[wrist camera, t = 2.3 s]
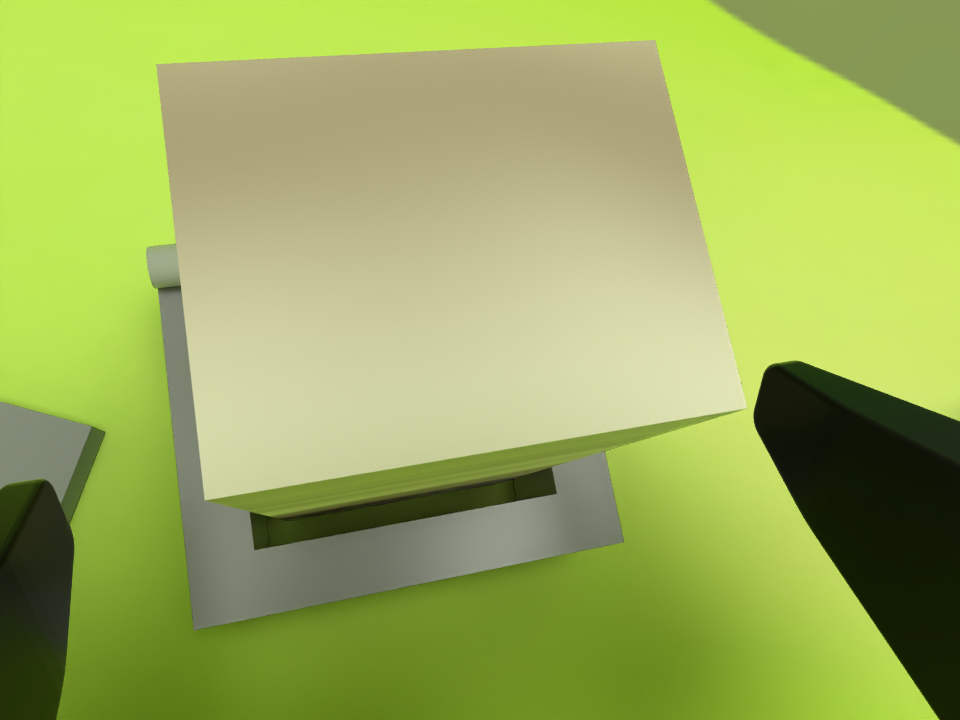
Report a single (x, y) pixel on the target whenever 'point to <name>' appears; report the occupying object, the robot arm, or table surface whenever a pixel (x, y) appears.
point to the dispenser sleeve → (364, 553)
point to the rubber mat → (47, 452)
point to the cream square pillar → (434, 269)
